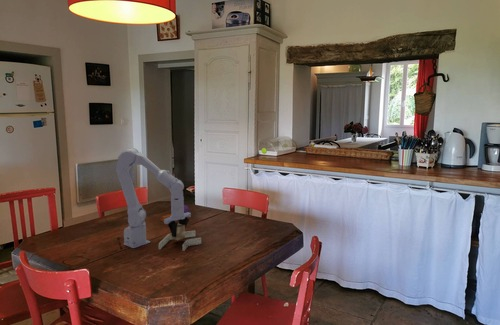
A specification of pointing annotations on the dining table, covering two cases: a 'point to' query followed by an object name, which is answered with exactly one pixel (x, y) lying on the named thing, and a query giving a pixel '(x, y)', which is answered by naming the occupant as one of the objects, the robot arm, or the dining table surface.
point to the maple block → (179, 232)
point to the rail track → (186, 243)
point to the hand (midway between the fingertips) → (178, 235)
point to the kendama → (170, 214)
